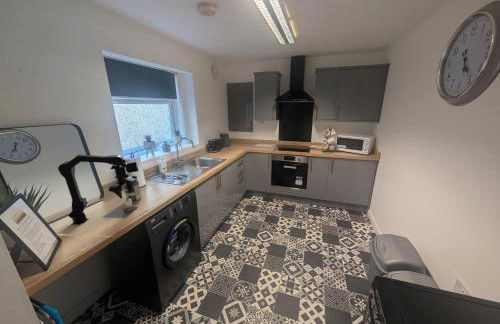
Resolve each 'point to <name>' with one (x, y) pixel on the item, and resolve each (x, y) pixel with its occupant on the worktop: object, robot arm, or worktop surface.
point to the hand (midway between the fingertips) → (126, 195)
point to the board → (118, 213)
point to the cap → (128, 203)
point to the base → (129, 209)
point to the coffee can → (133, 192)
